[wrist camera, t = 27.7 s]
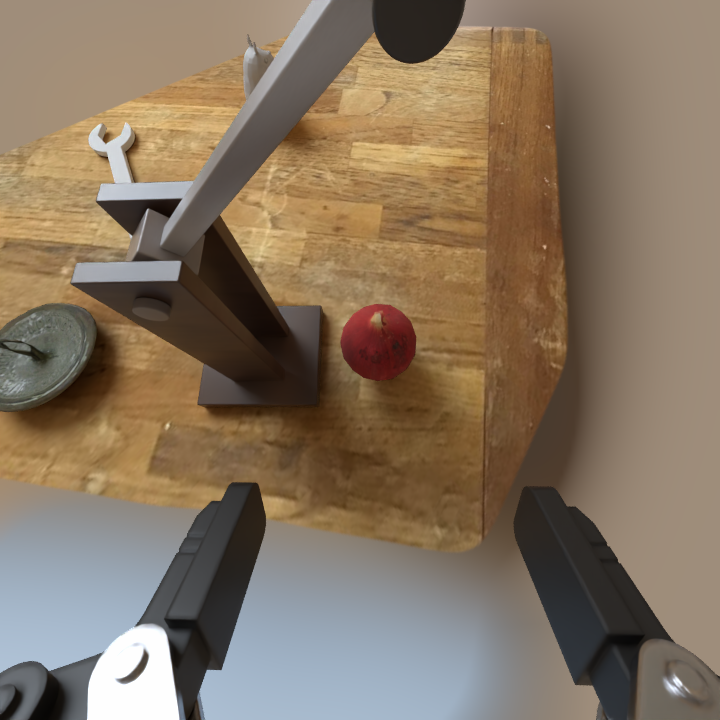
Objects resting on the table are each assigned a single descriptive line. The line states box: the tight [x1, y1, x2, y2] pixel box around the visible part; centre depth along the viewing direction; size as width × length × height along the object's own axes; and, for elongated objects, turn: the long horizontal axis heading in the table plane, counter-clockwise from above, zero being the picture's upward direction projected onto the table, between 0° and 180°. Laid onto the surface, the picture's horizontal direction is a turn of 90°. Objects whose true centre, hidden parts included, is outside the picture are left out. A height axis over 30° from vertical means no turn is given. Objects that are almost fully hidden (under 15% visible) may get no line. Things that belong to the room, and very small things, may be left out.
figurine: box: [243, 35, 274, 100], centre depth 35 cm, size 8×6×8 cm
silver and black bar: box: [125, 0, 466, 276], centre depth 11 cm, size 16×5×2 cm
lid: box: [0, 303, 97, 412], centre depth 28 cm, size 11×10×5 cm
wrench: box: [88, 123, 135, 239], centre depth 35 cm, size 25×1×5 cm
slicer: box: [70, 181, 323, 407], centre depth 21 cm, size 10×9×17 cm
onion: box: [341, 304, 416, 381], centre depth 25 cm, size 6×6×8 cm
